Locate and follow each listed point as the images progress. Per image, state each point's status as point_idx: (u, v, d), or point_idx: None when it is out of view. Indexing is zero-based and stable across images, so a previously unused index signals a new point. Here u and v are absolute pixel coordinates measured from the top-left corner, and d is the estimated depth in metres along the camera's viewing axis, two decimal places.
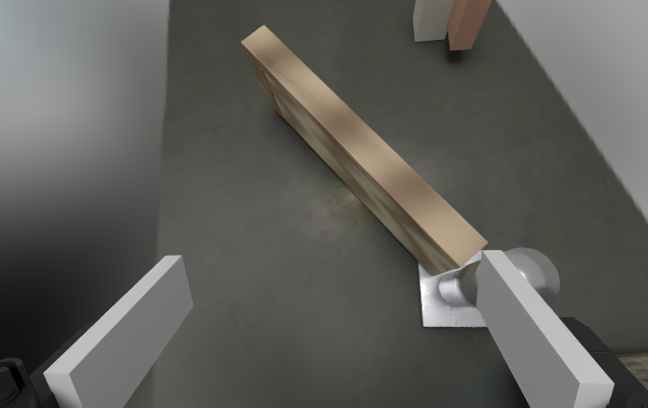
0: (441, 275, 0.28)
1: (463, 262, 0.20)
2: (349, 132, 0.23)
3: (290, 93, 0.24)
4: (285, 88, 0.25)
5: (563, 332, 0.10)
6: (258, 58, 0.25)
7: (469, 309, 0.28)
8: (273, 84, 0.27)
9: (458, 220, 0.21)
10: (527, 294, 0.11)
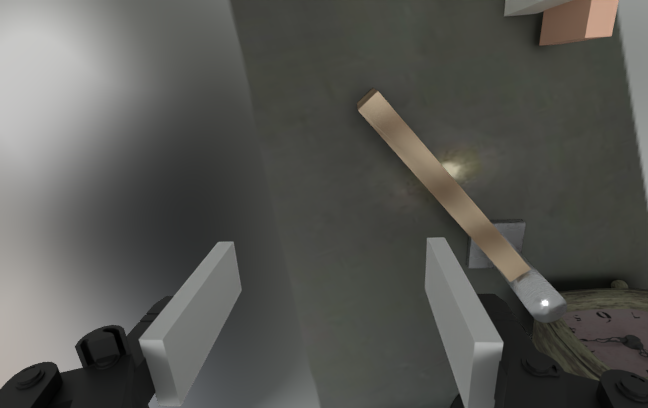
0: None
1: (512, 279, 0.33)
2: (449, 196, 0.31)
3: (403, 161, 0.30)
4: (399, 156, 0.30)
5: (475, 303, 0.11)
6: (375, 128, 0.29)
7: None
8: None
9: (515, 256, 0.32)
10: (455, 273, 0.13)
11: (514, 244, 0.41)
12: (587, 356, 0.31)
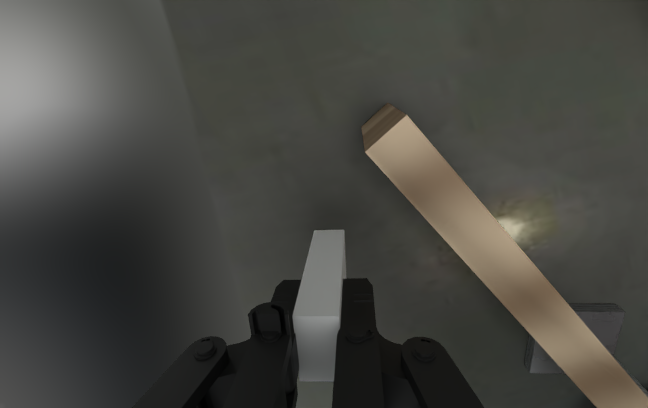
0: None
1: None
2: (538, 311, 0.16)
3: (452, 247, 0.16)
4: None
5: (335, 285, 0.12)
6: (399, 187, 0.15)
7: None
8: None
9: None
10: (334, 260, 0.14)
11: (604, 342, 0.27)
12: None
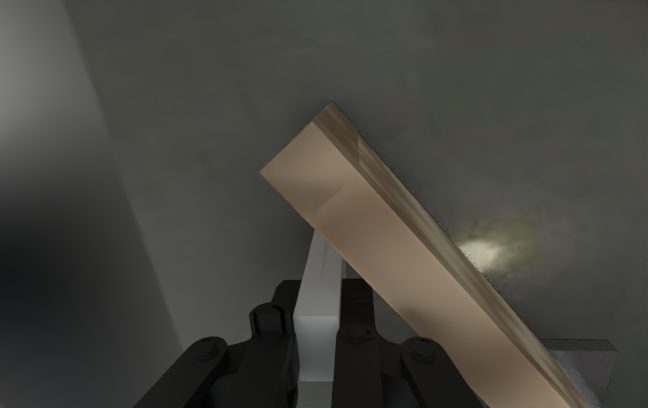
0: None
1: None
2: (503, 383, 0.12)
3: None
4: None
5: (335, 285, 0.12)
6: (309, 220, 0.11)
7: None
8: None
9: None
10: (333, 260, 0.14)
11: (593, 384, 0.23)
12: None
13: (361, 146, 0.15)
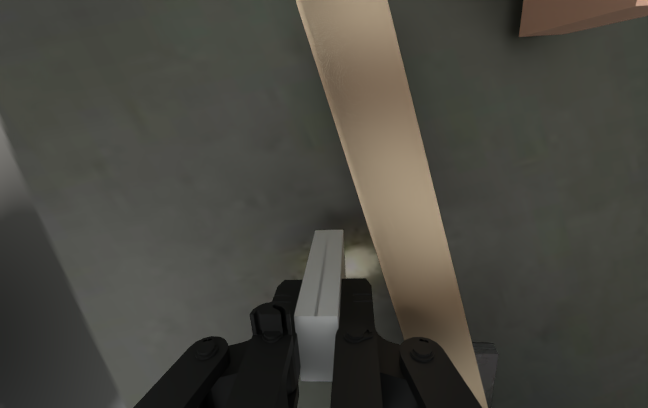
0: None
1: None
2: (430, 328, 0.12)
3: None
4: (354, 181, 0.11)
5: (334, 285, 0.12)
6: (321, 72, 0.09)
7: None
8: None
9: None
10: (332, 260, 0.14)
11: None
12: None
13: None
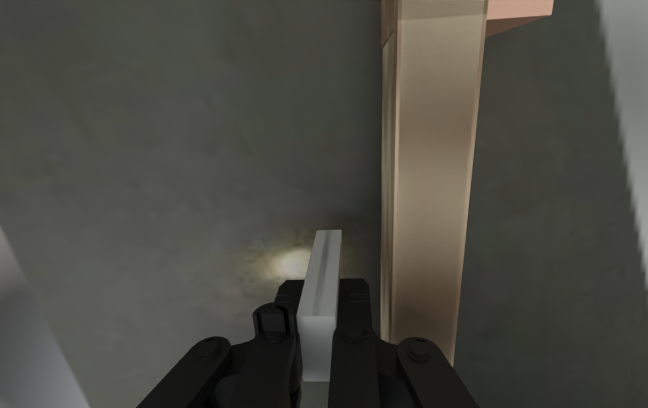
0: None
1: None
2: (421, 317, 0.12)
3: (394, 169, 0.10)
4: (394, 149, 0.10)
5: (332, 285, 0.12)
6: (400, 25, 0.09)
7: None
8: None
9: None
10: (330, 260, 0.14)
11: None
12: None
13: None
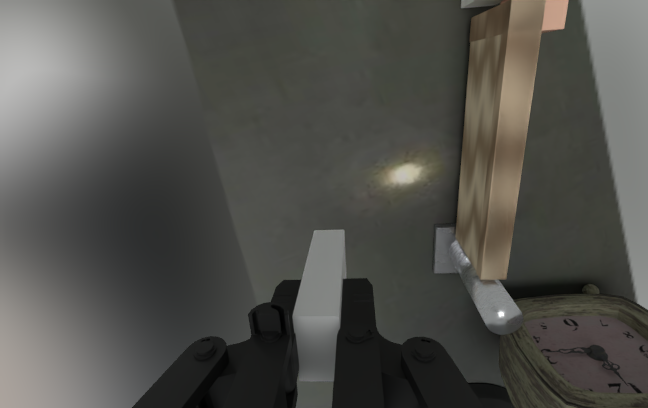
0: (451, 243, 0.40)
1: (484, 278, 0.31)
2: (506, 161, 0.27)
3: (500, 92, 0.25)
4: (501, 83, 0.25)
5: (335, 285, 0.12)
6: (509, 34, 0.24)
7: None
8: (495, 50, 0.26)
9: (505, 259, 0.30)
10: (334, 260, 0.14)
11: None
12: (546, 369, 0.30)
13: None
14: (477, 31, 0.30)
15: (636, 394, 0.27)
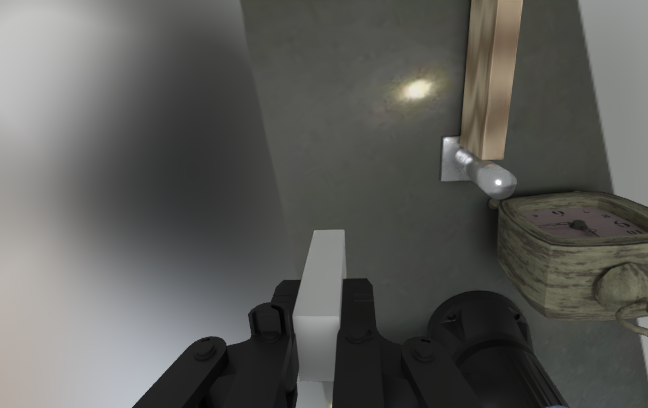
0: (456, 152, 0.46)
1: (484, 158, 0.37)
2: (503, 49, 0.33)
3: None
4: None
5: (335, 285, 0.12)
6: None
7: None
8: None
9: (502, 140, 0.36)
10: (334, 260, 0.14)
11: None
12: (535, 230, 0.36)
13: None
14: None
15: (607, 237, 0.33)
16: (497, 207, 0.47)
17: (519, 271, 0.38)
